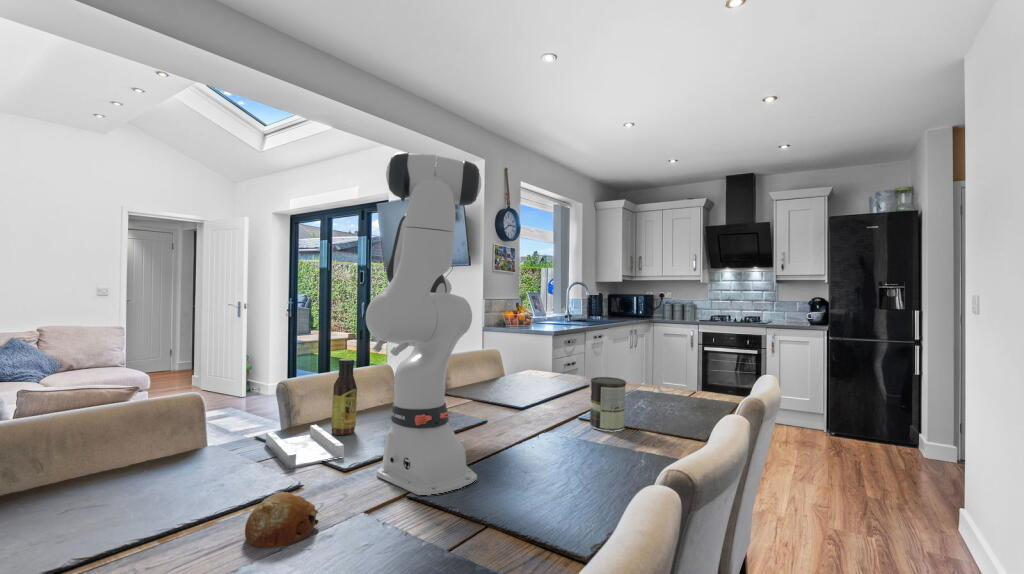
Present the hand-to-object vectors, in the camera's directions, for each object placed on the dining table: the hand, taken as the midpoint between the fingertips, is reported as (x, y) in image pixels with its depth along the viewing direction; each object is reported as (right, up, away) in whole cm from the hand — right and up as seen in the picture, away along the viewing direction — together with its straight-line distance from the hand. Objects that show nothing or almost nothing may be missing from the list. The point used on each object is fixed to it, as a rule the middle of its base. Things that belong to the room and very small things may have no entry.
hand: (384, 352), depth 138 cm
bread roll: (0, -21, -61) cm, 65 cm away
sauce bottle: (-9, -21, -9) cm, 24 cm away
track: (-13, -20, -24) cm, 34 cm away
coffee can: (+66, -23, +4) cm, 70 cm away
